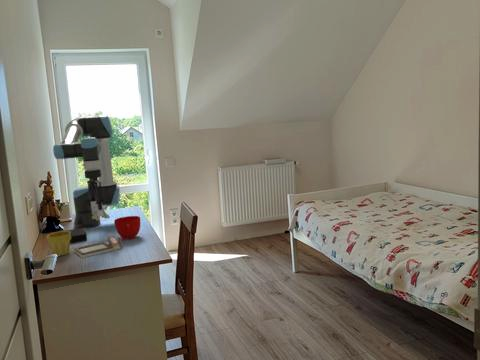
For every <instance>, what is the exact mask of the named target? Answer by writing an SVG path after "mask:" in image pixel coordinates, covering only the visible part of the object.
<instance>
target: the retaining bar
mask: <svg viewBox="0 0 480 360" xmlns="http://www.w3.org/2000/svg"><path fill="white" fill-rule="evenodd" d="M107 242H110V243H111V244H112V246H113V247H118V246H119V242H118V241H117V239H115V236H114V235H109V236H107Z"/></svg>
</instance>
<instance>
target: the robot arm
mask: <svg viewBox="0 0 480 360" xmlns="http://www.w3.org/2000/svg"><path fill="white" fill-rule="evenodd" d="M113 134H114V130H113V126H112V123H111V119H110V117H109V116H108V115H107V114H98V115H86V116H79V117H77V118H74V119H72V120H71V121H69V122H68V123H67V125H66V126H65V128H64V135H63V138H62V140H61V142H60V143H57V144H54V145H53V149H52V150H53V151H52V152H53V156H54V158H55V160H67V159H74V158H75V159H77V158H82V161H83V163H82V166H83V170H84V178H85V179H88V180H87V182H86V183H87V186H82V187H80V188H76V189H73V192H72V195H73V197H72V199H73V203H74V211H75V216H74V222H73V228H74V229H79V228H85V229H89V228H93V227H94V228H95V227H97V226H99V225H101V219H100V220H97V221H96V219H92V216H93V215H94V214H95V212H93V211H92V209H93V208H94V207H97V215H98V217H100V218H102V216H104V214H103V206H102V205H107V207H112V206H117V205H119V203H120V185H118V184H117V181H115V180H114V176H113V175H114V174H113V166H112V165H113V164H112V158H111V150H110V142H109V141H110V140H111V138H112V135H113ZM83 137H84V138H83ZM85 137H86V138H85ZM80 138H81V139H80Z"/></svg>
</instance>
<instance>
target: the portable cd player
mask: <svg viewBox="0 0 480 360" xmlns="http://www.w3.org/2000/svg"><path fill="white" fill-rule="evenodd" d="M86 229H87V228H74V229H68V230H65V231H69V232H71V240H70V244H74V243H80V242H82V243H83V242H87V241H88V237H87V230H86ZM61 231H62V230H60V231H58V232H61ZM55 232H56V231H54V232H52V233H55Z"/></svg>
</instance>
